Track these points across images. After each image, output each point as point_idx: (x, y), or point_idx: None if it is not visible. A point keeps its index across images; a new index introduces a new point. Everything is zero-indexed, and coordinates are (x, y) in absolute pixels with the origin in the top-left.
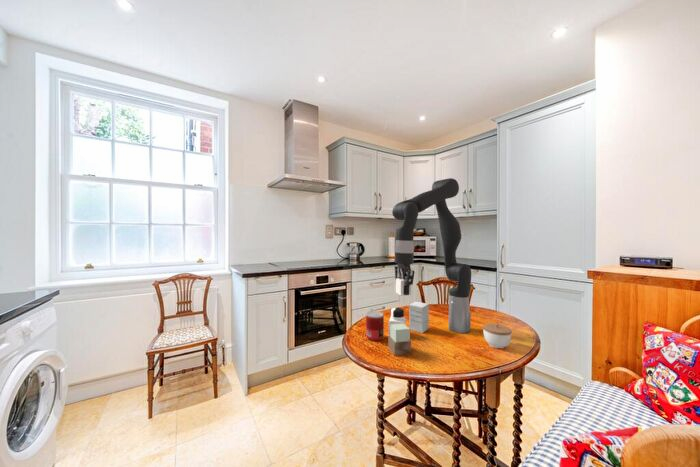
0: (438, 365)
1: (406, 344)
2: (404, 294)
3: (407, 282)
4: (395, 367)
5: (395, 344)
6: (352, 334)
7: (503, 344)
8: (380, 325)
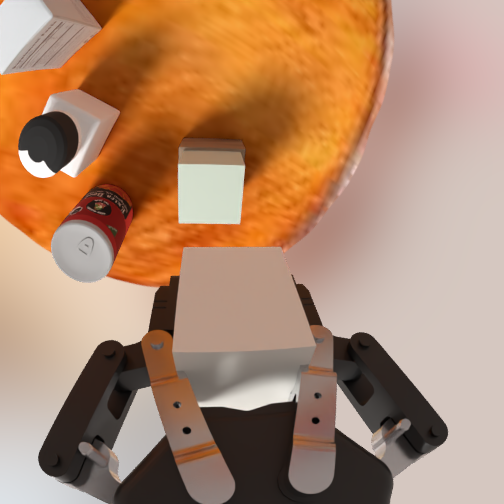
0: (330, 104)
1: None
2: None
3: (364, 380)
4: (296, 216)
5: None
6: None
7: None
8: (118, 224)
